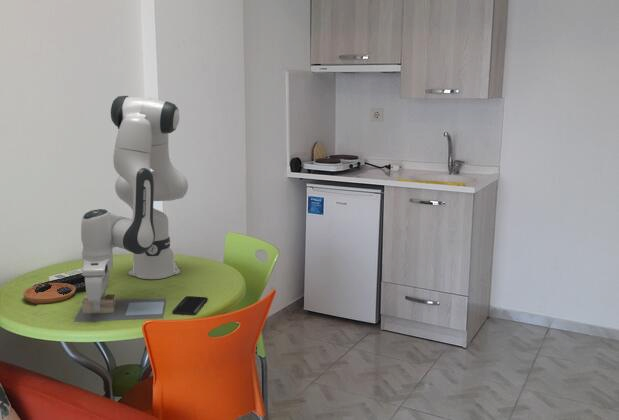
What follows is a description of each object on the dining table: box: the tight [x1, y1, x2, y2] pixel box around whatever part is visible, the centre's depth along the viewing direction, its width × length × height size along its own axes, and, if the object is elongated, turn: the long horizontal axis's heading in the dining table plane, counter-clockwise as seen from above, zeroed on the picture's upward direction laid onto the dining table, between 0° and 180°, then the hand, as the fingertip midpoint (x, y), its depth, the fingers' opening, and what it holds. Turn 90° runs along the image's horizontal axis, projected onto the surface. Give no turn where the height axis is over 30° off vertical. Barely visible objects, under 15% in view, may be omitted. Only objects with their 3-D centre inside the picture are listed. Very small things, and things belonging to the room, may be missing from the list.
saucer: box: [22, 282, 76, 305], centre depth 203 cm, size 16×16×3 cm
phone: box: [171, 295, 209, 317], centre depth 198 cm, size 8×1×15 cm
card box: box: [81, 293, 116, 314], centre depth 191 cm, size 5×9×4 cm, turn 100°
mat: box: [73, 297, 167, 323], centre depth 193 cm, size 18×26×1 cm
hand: (99, 305), depth 191 cm, fingers open, 8 cm apart
